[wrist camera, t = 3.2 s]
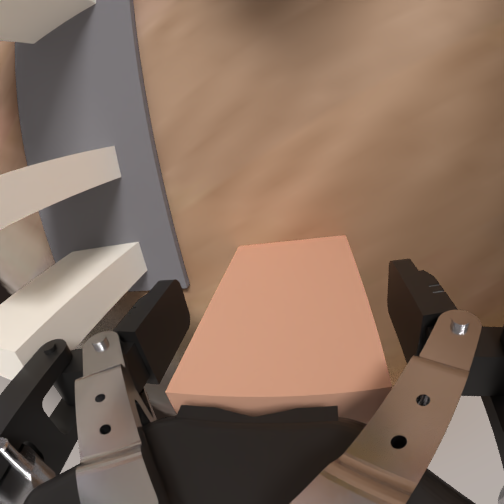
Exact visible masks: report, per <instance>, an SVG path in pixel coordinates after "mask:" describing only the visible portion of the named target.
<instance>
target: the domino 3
mask: <svg viewBox="0 0 504 504" xmlns="http://www.w3.org/2000/svg"><path fill="white" fill-rule="evenodd" d="M120 177H121V173H120V169H119V164H118V160H117V155H116V150H115V146H110V147H105V148H100V149H95V150H91V151H86V152H81V153H77V154H73V155H68V156H64V157H60V158H56V159H52V160H49V161H45V162H41V163H37V164H34V165H30V166H27V167H24V168H20V169H17V170H14V171H11V172H7V173H4V174H1V175H0V230H1V229H3V228H4V227H6V226H8V225H10V224H12V223H14V222H16V221H18V220H20V219H22V218H25V217H27V216H29V215H31V214H33V213H35V212H37V211H39V210H42V209H44V208H46V207H48V206H50V205H53V204H55V203H57V202H59V201H62V200H64V199H66V198H69V197H71V196H74V195H76V194H78V193H81V192H83V191H86V190H88V189H91V188H93V187H96V186H99V185H101V184H104V183H106V182H109V181H112V180H114V179H117V178H120Z"/></svg>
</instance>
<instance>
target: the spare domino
mask: <svg viewBox="0 0 504 504" xmlns="http://www.w3.org/2000/svg"><path fill="white" fill-rule="evenodd" d="M391 389H392V384H391V380H390V376H389V372H388V368H387V364H386V360H385V356H384V353H383V349H382V345H381V342H380V338H379V335H378V331H377V328H376V324H375V321H374V318H373V315H372V311H371V308H370V305H369V302H368V298H367V295H366V292H365V289H364V286H363V283H362V280H361V277H360V274H359V271H358V268H357V265H356V263H355V260H354V257H353V254H352V251H351V249H350V246H349V243H348V240H347V238H346V235H341V236H332V237H322V238H312V239H302V240H293V241H283V242H274V243H264V244H255V245H245V246H239V247H238V249H237V250H236V252H235V254H234V256H233V258H232V260H231V262H230V264H229V266H228V268H227V270H226V272H225V274H224V276H223V278H222V280H221V282H220V284H219V286H218V288H217V290H216V292H215V293H214V295H213V297H212V299H211V301H210V303H209V305H208V307H207V309H206V311H205V313H204V315H203V317H202V319H201V321H200V323H199V325H198V327H197V329H196V331H195V333H194V335H193V337H192V339H191V341H190V343H189V345H188V347H187V349H186V351H185V353H184V355H183V357H182V359H181V361H180V363H179V365H178V367H177V369H176V371H175V373H174V375H173V377H172V379H171V381H170V383H169V385H168V387H167V389H166V391H165V393H166V395H167V396H168V398H169V400H170V402H171V404H172V406H173V408H174V410H175V411H176V413H177V414H178V411H179V409H180V406H181V405H190V406H202V407H216V408H220V409H224V410H227V411H231V412H235V413H239V414H243V415H247V416H252V417H256V416H262V415H267V414H272V413H277V412H282V411H286V410H291V409H295V408H310V407H326V406H338V417H343V418H349V419H353V420H357V421H360V422H363V423H365V424H368V422H369V421H370V420H371V418H372V417H373V415H374V414H375V413H376V411H377V410H378V408H379V407H380V406H381V404H382V403H383V401H384V400H385V398H386V397H387V395H388V394H389V392H390V391H391Z"/></svg>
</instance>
